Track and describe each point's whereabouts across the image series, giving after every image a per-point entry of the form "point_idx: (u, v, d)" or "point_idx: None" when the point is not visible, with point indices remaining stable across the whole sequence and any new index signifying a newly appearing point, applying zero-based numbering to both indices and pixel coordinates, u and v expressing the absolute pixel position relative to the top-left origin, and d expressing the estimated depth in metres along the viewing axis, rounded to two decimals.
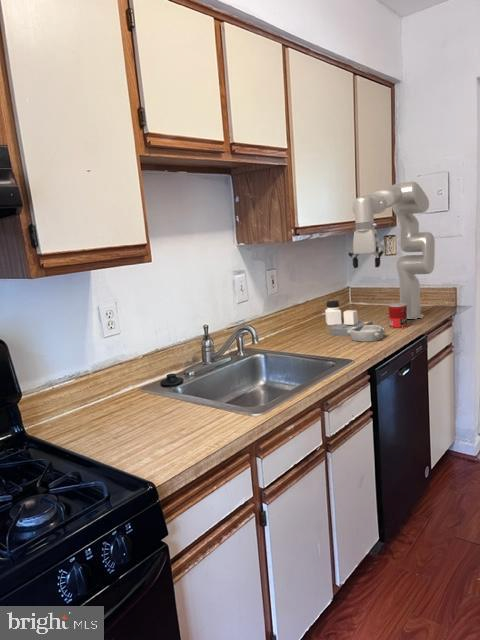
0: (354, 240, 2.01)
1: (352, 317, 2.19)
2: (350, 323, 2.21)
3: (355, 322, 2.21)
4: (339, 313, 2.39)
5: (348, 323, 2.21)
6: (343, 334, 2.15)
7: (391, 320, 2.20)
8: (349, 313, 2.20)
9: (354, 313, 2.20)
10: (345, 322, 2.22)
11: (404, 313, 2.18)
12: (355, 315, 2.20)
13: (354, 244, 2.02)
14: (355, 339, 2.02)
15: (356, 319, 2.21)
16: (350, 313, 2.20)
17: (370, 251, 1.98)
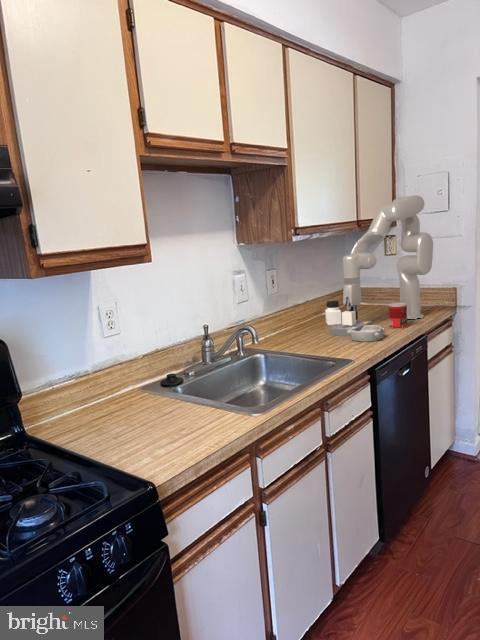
0: (352, 293, 2.18)
1: (350, 318, 2.18)
2: (348, 324, 2.19)
3: (353, 323, 2.20)
4: (339, 313, 2.39)
5: (346, 324, 2.20)
6: (343, 334, 2.15)
7: (391, 320, 2.20)
8: (347, 314, 2.19)
9: (352, 314, 2.18)
10: (343, 323, 2.21)
11: (404, 313, 2.18)
12: (353, 316, 2.19)
13: (352, 297, 2.19)
14: (355, 339, 2.02)
15: (355, 320, 2.20)
16: (348, 314, 2.18)
17: (360, 302, 2.24)
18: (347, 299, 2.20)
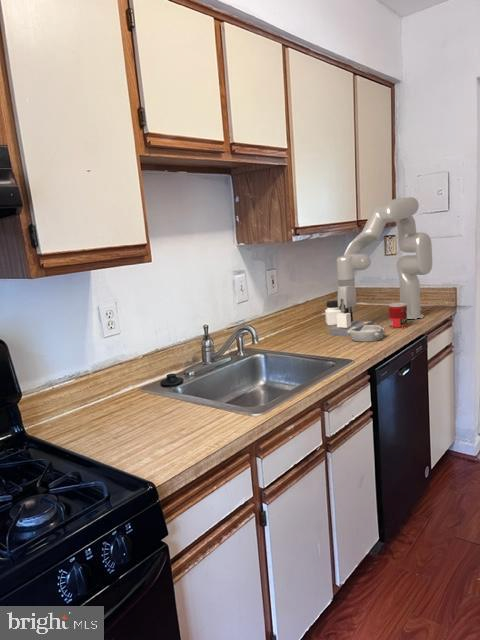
0: (347, 295, 2.15)
1: (345, 320, 2.15)
2: (343, 326, 2.16)
3: (348, 325, 2.16)
4: None
5: (341, 326, 2.17)
6: (343, 334, 2.15)
7: (391, 320, 2.20)
8: (342, 316, 2.15)
9: (347, 316, 2.15)
10: (338, 325, 2.18)
11: (404, 313, 2.18)
12: (348, 318, 2.16)
13: (347, 299, 2.15)
14: (355, 339, 2.02)
15: (349, 322, 2.17)
16: (343, 316, 2.15)
17: (355, 303, 2.21)
18: (342, 301, 2.16)
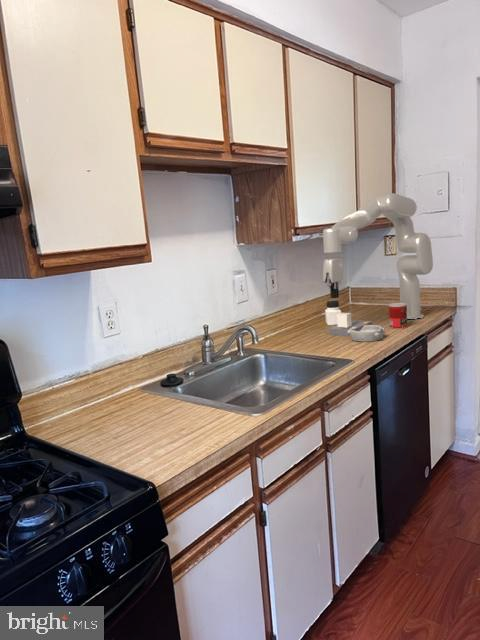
0: (332, 269, 2.04)
1: (346, 320, 2.15)
2: (344, 326, 2.16)
3: (349, 325, 2.16)
4: None
5: (342, 326, 2.17)
6: (343, 334, 2.15)
7: (391, 320, 2.20)
8: (342, 316, 2.16)
9: (348, 315, 2.15)
10: (339, 325, 2.18)
11: (404, 313, 2.18)
12: (349, 317, 2.16)
13: (333, 273, 2.04)
14: (355, 339, 2.02)
15: (350, 322, 2.17)
16: (344, 315, 2.15)
17: (341, 279, 2.10)
18: (327, 275, 2.06)
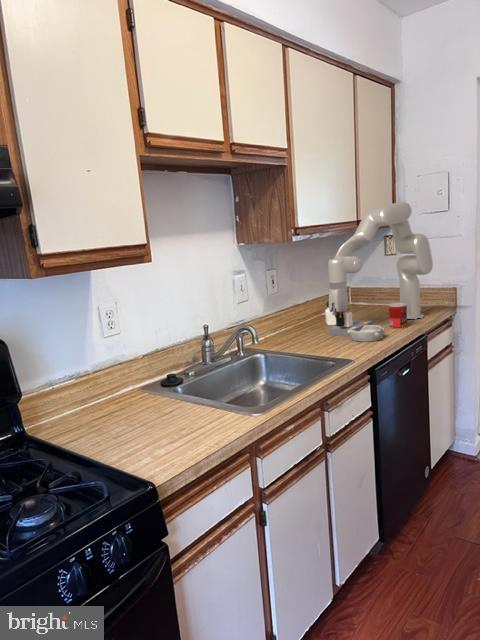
0: (338, 299, 2.09)
1: (347, 319, 2.16)
2: (345, 325, 2.17)
3: (350, 324, 2.17)
4: None
5: None
6: (343, 334, 2.15)
7: (391, 320, 2.20)
8: None
9: (349, 315, 2.16)
10: None
11: (404, 313, 2.18)
12: (350, 317, 2.17)
13: (338, 303, 2.09)
14: (355, 339, 2.02)
15: (351, 321, 2.18)
16: (345, 315, 2.16)
17: (346, 307, 2.15)
18: (333, 305, 2.10)
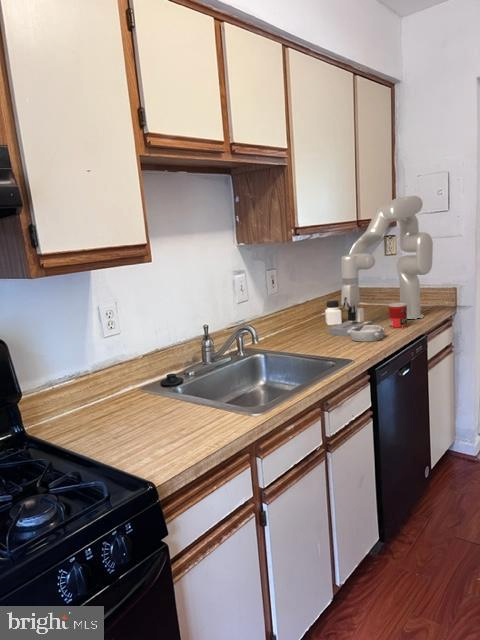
0: (350, 294, 2.17)
1: (358, 315, 2.24)
2: (356, 320, 2.25)
3: (361, 319, 2.25)
4: (339, 313, 2.39)
5: None
6: (343, 334, 2.15)
7: (391, 320, 2.20)
8: None
9: (360, 311, 2.24)
10: None
11: (404, 313, 2.18)
12: (361, 313, 2.25)
13: (351, 297, 2.17)
14: (355, 339, 2.02)
15: (362, 317, 2.26)
16: (356, 311, 2.24)
17: (358, 302, 2.23)
18: (345, 299, 2.19)
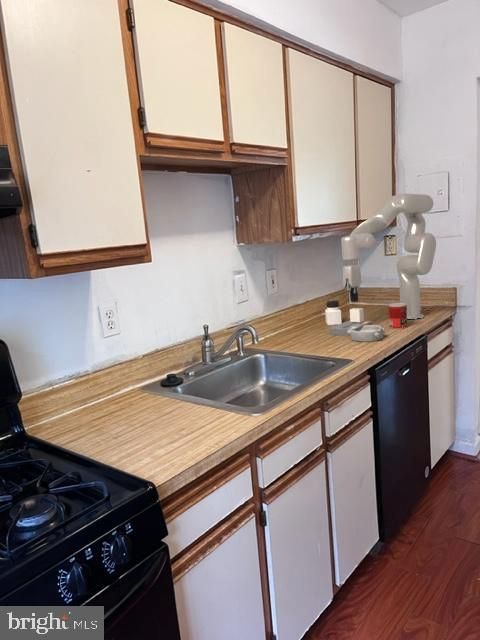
0: (352, 275, 2.17)
1: (358, 315, 2.24)
2: (356, 320, 2.25)
3: (361, 319, 2.25)
4: (339, 313, 2.39)
5: (354, 320, 2.26)
6: (343, 334, 2.15)
7: (391, 320, 2.20)
8: (355, 311, 2.25)
9: (360, 311, 2.24)
10: (351, 320, 2.27)
11: (404, 313, 2.18)
12: (361, 313, 2.25)
13: (352, 278, 2.17)
14: (355, 339, 2.02)
15: (362, 317, 2.26)
16: (356, 311, 2.24)
17: (359, 283, 2.23)
18: (347, 281, 2.19)
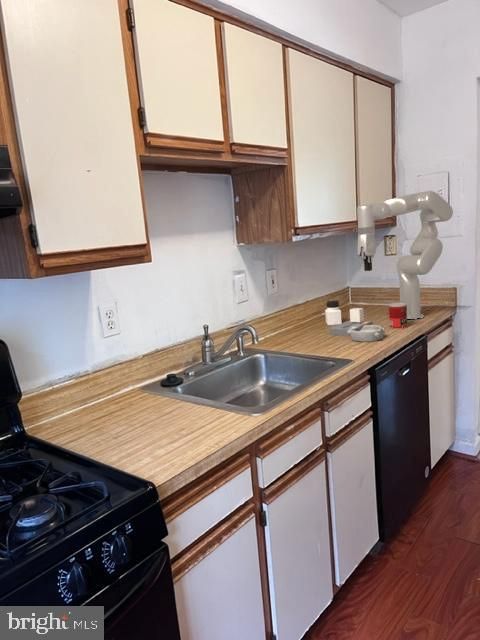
0: (367, 243, 2.18)
1: (358, 315, 2.24)
2: (356, 320, 2.25)
3: (361, 319, 2.25)
4: (339, 313, 2.39)
5: (354, 320, 2.26)
6: (343, 334, 2.15)
7: (391, 320, 2.20)
8: (355, 311, 2.25)
9: (360, 311, 2.24)
10: (351, 320, 2.27)
11: (404, 313, 2.18)
12: (361, 313, 2.25)
13: (367, 247, 2.18)
14: (355, 339, 2.02)
15: (362, 317, 2.26)
16: (356, 311, 2.24)
17: (374, 252, 2.24)
18: (362, 249, 2.20)
